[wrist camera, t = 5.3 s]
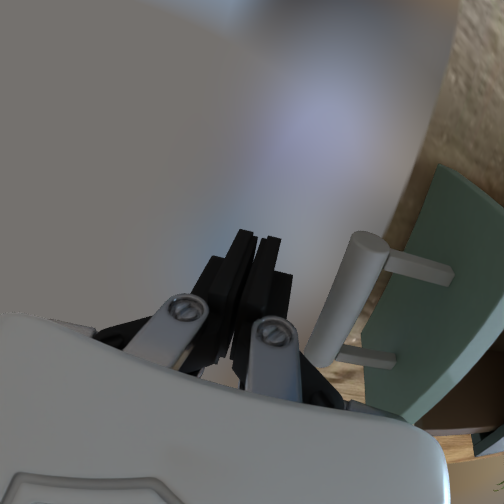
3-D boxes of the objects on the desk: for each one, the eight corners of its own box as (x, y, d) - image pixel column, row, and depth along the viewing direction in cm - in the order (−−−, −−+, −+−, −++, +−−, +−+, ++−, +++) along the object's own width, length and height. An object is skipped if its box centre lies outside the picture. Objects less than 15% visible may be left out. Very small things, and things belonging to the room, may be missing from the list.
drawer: (296, 319, 18) (280, 434, 11) (356, 133, 12) (406, 189, 5) (496, 355, 17) (522, 433, 10) (571, 237, 11) (630, 307, 4)
